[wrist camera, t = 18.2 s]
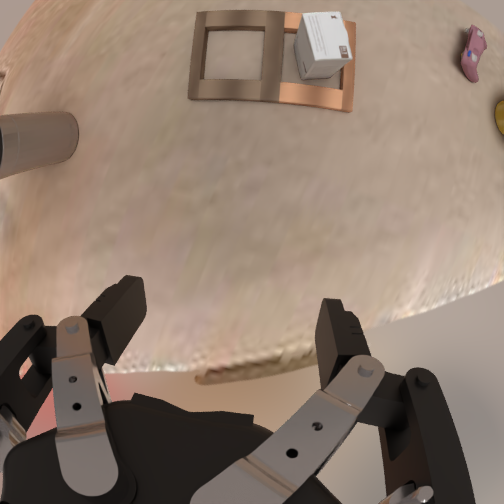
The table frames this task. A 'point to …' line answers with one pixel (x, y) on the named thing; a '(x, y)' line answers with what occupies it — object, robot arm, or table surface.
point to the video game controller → (473, 52)
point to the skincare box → (321, 45)
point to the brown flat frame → (265, 63)
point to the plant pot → (500, 116)
